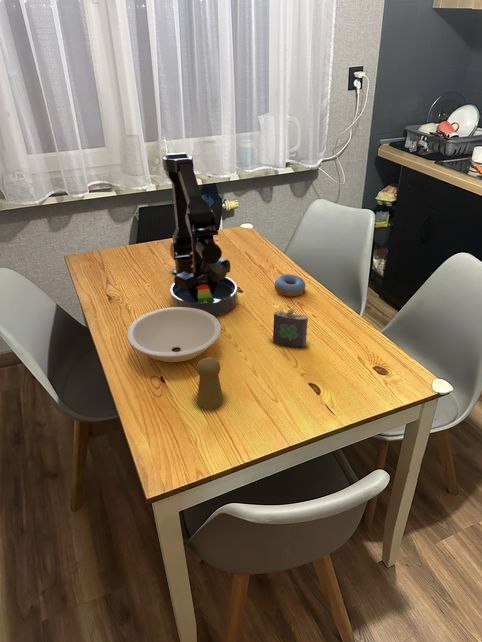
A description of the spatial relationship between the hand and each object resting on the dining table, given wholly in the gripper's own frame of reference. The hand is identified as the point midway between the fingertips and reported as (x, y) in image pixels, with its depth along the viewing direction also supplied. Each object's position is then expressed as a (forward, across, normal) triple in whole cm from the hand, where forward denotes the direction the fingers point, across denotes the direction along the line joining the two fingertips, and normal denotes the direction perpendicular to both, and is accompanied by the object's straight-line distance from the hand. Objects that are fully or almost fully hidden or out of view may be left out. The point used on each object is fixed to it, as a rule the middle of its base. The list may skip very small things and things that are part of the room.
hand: (204, 297), depth 153 cm
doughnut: (+2, +23, -16) cm, 28 cm away
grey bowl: (+2, -24, -13) cm, 27 cm away
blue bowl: (+2, 0, 0) cm, 2 cm away
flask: (+2, -2, -34) cm, 34 cm away
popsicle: (+1, 0, 0) cm, 1 cm away
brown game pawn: (+2, -33, -34) cm, 47 cm away
